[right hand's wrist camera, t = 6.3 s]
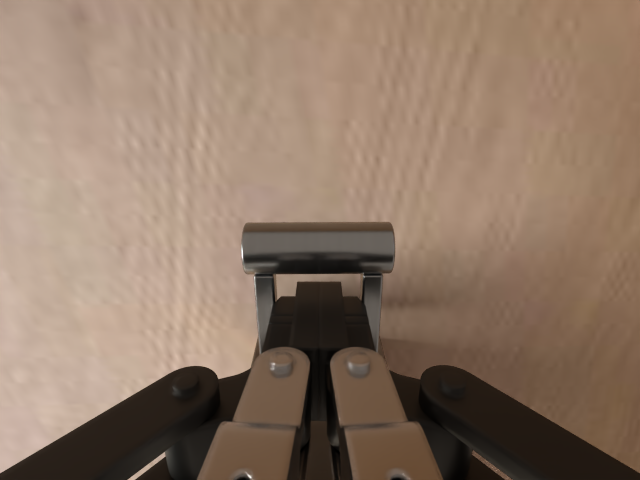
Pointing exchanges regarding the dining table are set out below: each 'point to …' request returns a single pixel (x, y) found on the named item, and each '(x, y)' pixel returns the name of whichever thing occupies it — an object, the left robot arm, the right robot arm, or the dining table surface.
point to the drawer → (318, 258)
